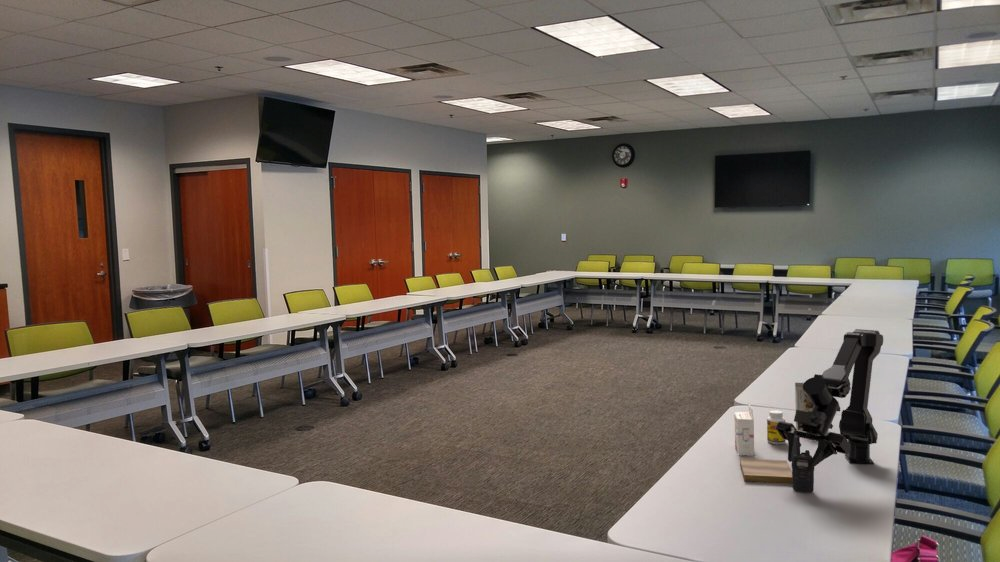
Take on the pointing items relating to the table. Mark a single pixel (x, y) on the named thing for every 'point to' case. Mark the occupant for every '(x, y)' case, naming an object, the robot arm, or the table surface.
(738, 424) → the ink cartridge box
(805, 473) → the two-way radio
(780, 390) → the table surface
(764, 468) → the tan flat wooden block
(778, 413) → the supplement bottle
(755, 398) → the table surface
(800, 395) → the coffee box
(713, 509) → the table surface
